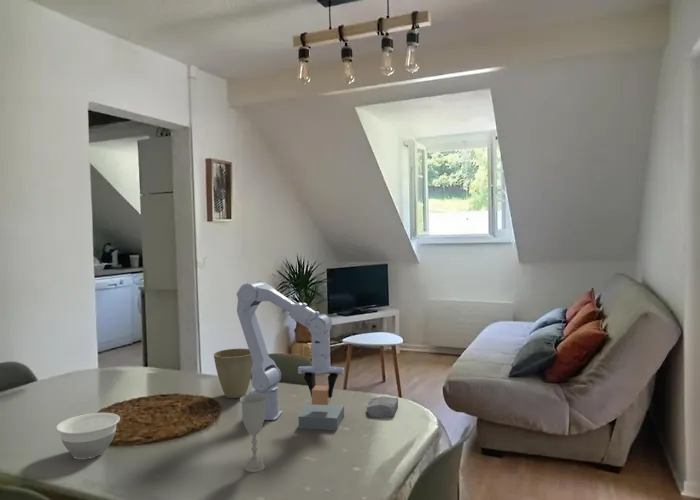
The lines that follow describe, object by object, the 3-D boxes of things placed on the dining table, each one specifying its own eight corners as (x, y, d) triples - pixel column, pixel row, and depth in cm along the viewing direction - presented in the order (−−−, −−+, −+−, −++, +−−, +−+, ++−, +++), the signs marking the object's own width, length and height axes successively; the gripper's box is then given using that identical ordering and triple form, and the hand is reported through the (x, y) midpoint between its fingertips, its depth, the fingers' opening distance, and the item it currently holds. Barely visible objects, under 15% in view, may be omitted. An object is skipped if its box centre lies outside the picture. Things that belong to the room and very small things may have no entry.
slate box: (298, 429, 164) (298, 416, 164) (308, 415, 176) (308, 403, 176) (337, 431, 162) (336, 418, 162) (344, 417, 174) (344, 405, 174)
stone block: (366, 422, 174) (396, 417, 172) (363, 407, 174) (393, 402, 172) (372, 411, 185) (400, 406, 183) (369, 397, 185) (397, 393, 184)
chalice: (243, 462, 141) (241, 394, 140) (269, 460, 141) (267, 393, 140) (239, 474, 133) (238, 403, 133) (267, 473, 134) (265, 402, 133)
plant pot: (264, 392, 200) (263, 350, 200) (235, 404, 188) (234, 359, 187) (235, 387, 208) (234, 346, 208) (206, 397, 196) (204, 354, 195)
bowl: (78, 470, 137) (77, 437, 137) (45, 457, 146) (43, 426, 146) (133, 448, 151) (132, 418, 151) (99, 437, 159) (98, 408, 159)
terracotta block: (311, 404, 166) (311, 390, 166) (315, 399, 171) (315, 385, 171) (327, 405, 165) (327, 390, 165) (331, 399, 170) (330, 385, 170)
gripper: (295, 356, 165) (296, 399, 166) (341, 357, 163) (342, 401, 163) (301, 351, 172) (301, 392, 173) (345, 352, 170) (346, 394, 170)
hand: (321, 396), depth 169 cm, fingers closed on terracotta block, 5 cm apart
